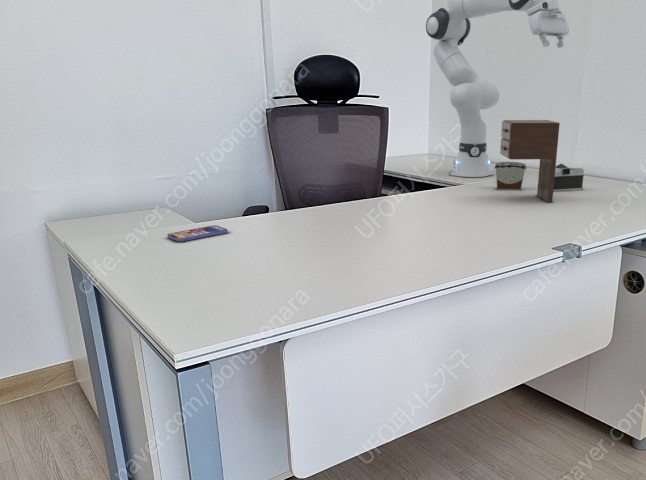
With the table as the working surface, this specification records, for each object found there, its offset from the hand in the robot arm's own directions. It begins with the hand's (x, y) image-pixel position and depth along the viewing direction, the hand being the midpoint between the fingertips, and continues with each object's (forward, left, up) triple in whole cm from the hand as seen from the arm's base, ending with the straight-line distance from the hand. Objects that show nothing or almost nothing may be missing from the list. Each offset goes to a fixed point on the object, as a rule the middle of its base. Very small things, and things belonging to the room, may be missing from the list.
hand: (553, 46), depth 222 cm
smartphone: (+75, -118, -52) cm, 149 cm away
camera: (+7, +6, -52) cm, 53 cm away
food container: (+5, -15, -52) cm, 55 cm away
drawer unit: (+27, -14, -52) cm, 60 cm away
